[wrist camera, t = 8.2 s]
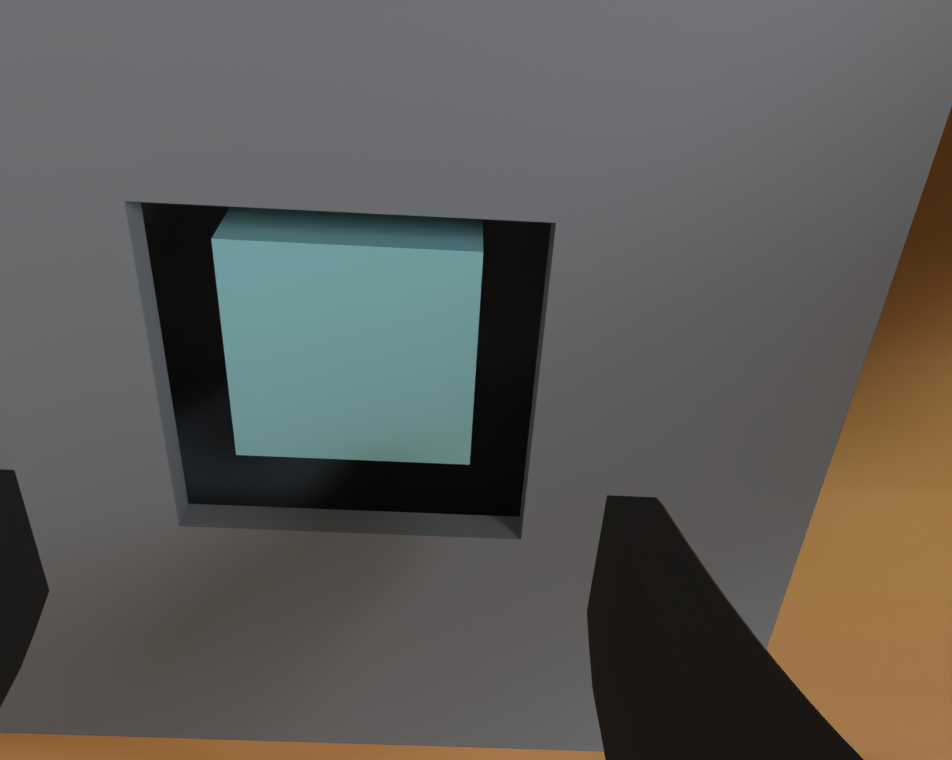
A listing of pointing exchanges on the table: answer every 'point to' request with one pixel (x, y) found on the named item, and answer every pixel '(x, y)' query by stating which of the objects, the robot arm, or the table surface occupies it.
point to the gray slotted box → (498, 350)
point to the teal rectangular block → (350, 333)
